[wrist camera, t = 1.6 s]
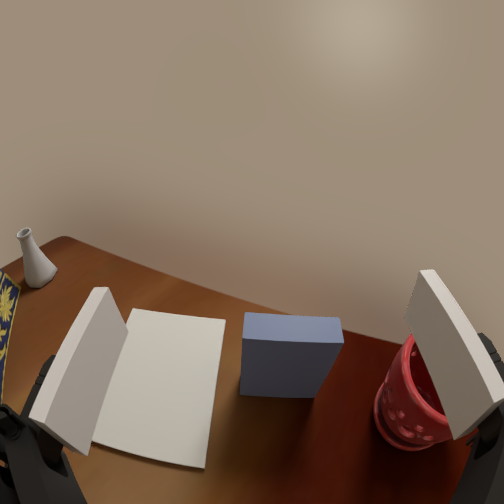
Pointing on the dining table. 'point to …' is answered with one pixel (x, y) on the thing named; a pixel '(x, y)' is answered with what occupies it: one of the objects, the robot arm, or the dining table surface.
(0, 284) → the decorative box
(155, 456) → the mat
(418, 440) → the plant pot
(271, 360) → the book
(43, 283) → the flask
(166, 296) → the dining table surface
